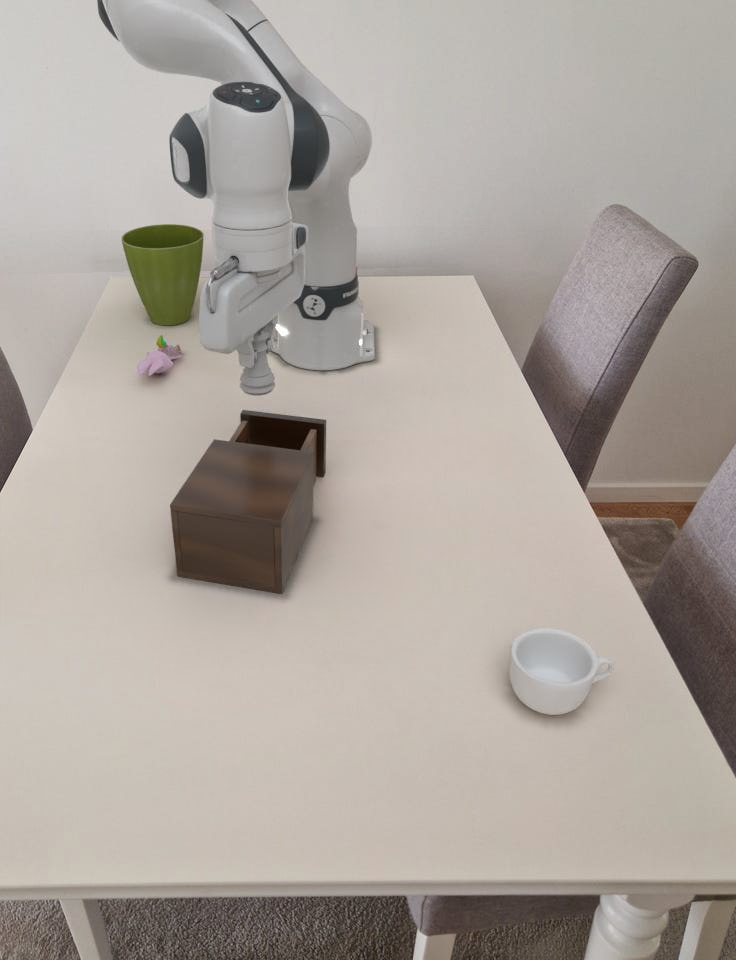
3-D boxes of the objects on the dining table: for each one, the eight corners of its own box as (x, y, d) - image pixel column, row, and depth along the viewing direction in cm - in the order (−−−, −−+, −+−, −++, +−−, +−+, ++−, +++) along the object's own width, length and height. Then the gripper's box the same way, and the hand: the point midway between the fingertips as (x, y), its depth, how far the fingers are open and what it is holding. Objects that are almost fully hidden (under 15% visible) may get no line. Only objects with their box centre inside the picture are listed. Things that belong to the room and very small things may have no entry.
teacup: (517, 730, 78) (526, 689, 75) (494, 669, 85) (501, 629, 82) (622, 722, 79) (635, 681, 76) (591, 662, 85) (601, 623, 82)
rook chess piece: (232, 386, 105) (229, 326, 100) (263, 377, 107) (261, 317, 102) (251, 400, 101) (249, 338, 97) (282, 390, 103) (281, 329, 99)
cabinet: (218, 506, 109) (213, 438, 104) (312, 520, 106) (313, 451, 101) (177, 576, 98) (169, 504, 92) (282, 594, 95) (280, 521, 89)
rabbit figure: (156, 359, 150) (126, 383, 137) (154, 326, 148) (124, 347, 134) (190, 361, 149) (164, 386, 136) (189, 328, 147) (162, 350, 133)
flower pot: (132, 305, 168) (123, 225, 159) (207, 301, 169) (202, 222, 161) (129, 335, 156) (118, 250, 147) (210, 331, 157) (204, 246, 148)
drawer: (255, 445, 120) (253, 393, 116) (333, 455, 118) (334, 403, 113) (212, 517, 106) (208, 461, 101) (300, 531, 103) (300, 474, 98)
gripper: (233, 278, 85) (239, 399, 93) (314, 223, 101) (314, 331, 108) (179, 270, 88) (190, 389, 95) (267, 217, 103) (269, 323, 111)
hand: (256, 358), depth 102 cm, fingers closed on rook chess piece, 3 cm apart
